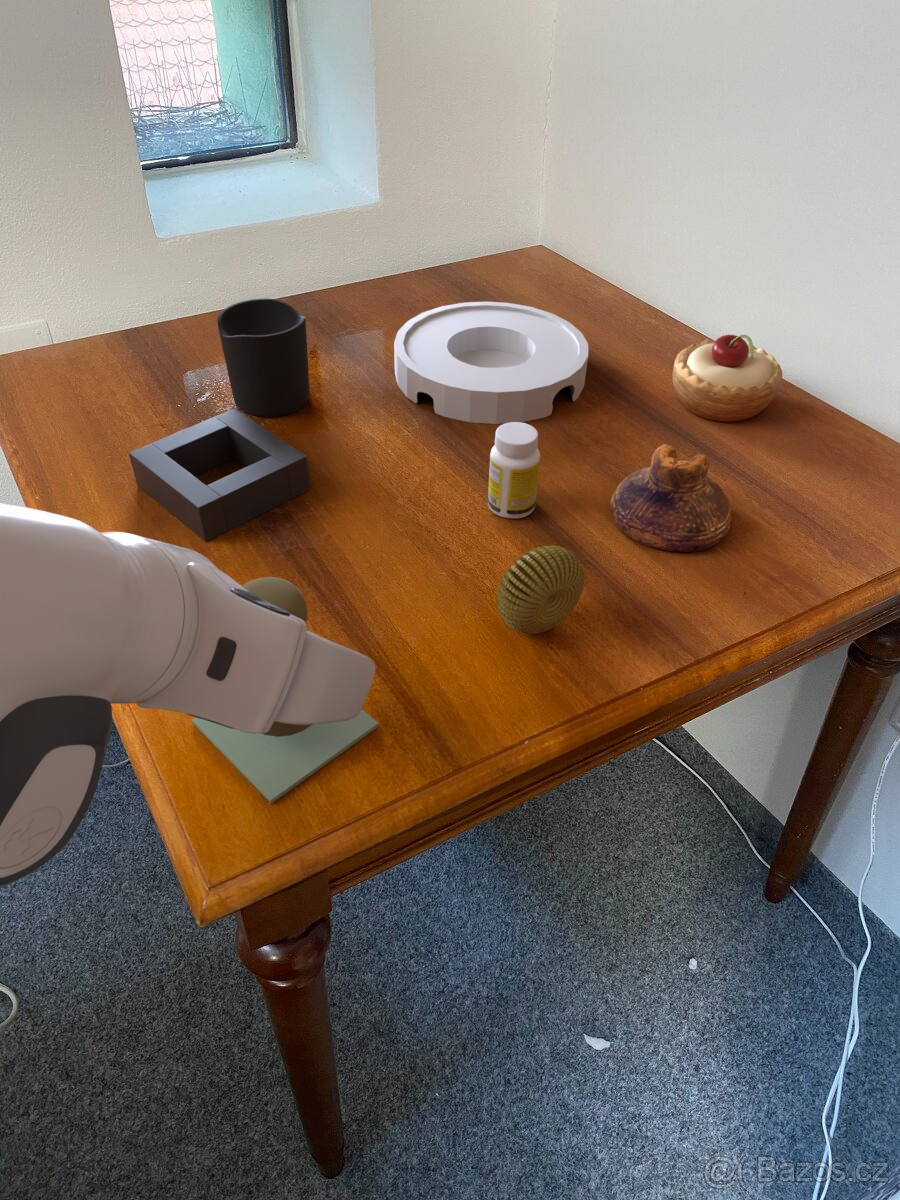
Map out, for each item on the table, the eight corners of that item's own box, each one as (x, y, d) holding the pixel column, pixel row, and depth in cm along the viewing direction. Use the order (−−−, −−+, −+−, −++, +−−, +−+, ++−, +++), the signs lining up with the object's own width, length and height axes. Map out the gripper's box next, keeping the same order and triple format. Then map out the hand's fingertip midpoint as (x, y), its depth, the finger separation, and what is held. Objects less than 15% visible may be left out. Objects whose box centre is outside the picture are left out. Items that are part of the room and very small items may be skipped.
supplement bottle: (542, 499, 88) (550, 427, 82) (524, 525, 85) (532, 451, 79) (498, 487, 90) (503, 414, 84) (479, 512, 86) (483, 438, 81)
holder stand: (205, 542, 82) (198, 507, 79) (137, 486, 88) (128, 452, 86) (310, 489, 89) (307, 456, 86) (239, 440, 95) (234, 408, 92)
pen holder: (320, 381, 105) (313, 301, 98) (303, 423, 98) (294, 339, 91) (243, 376, 105) (231, 296, 98) (220, 417, 98) (205, 333, 92)
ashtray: (571, 331, 116) (575, 302, 113) (598, 424, 99) (603, 392, 96) (396, 330, 115) (395, 300, 112) (393, 423, 98) (392, 392, 95)
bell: (584, 509, 87) (593, 447, 82) (666, 469, 92) (680, 408, 87) (672, 572, 80) (689, 508, 75) (755, 524, 86) (776, 462, 81)
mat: (271, 804, 61) (270, 800, 61) (192, 723, 66) (191, 719, 66) (379, 726, 66) (378, 723, 66) (298, 657, 71) (297, 653, 71)
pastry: (717, 368, 109) (734, 299, 103) (792, 409, 102) (815, 338, 96) (646, 394, 104) (660, 322, 98) (721, 439, 97) (740, 366, 91)
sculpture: (558, 594, 78) (568, 523, 72) (587, 621, 75) (600, 549, 70) (484, 628, 74) (489, 556, 69) (513, 657, 72) (520, 584, 66)
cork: (319, 737, 62) (304, 626, 55) (234, 735, 62) (208, 624, 55) (329, 675, 67) (316, 564, 59) (250, 673, 67) (227, 562, 59)
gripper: (-5, 611, 51) (148, 629, 64) (279, 748, 44) (387, 737, 57) (32, 510, 51) (178, 548, 64) (322, 631, 44) (420, 646, 57)
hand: (278, 638), depth 61 cm, fingers closed on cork, 5 cm apart
